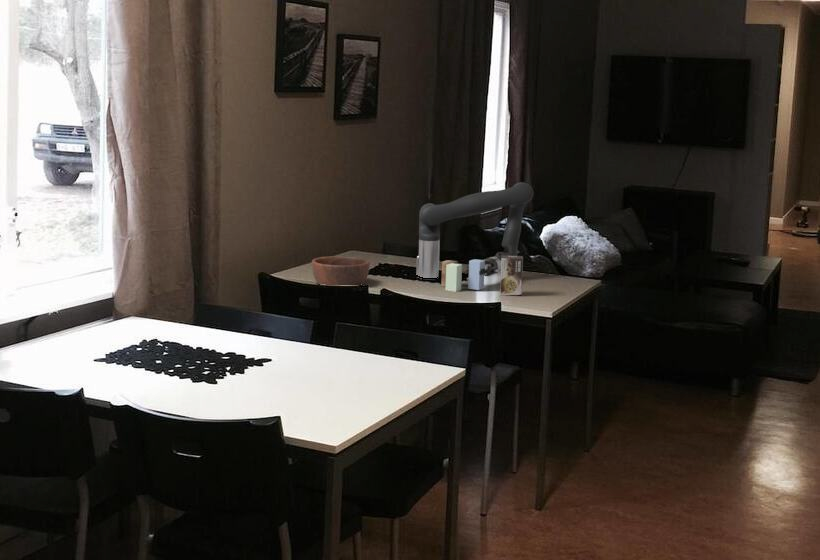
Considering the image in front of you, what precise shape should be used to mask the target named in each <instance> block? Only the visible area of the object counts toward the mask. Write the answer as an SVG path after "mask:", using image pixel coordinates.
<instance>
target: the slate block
mask: <svg viewBox="0 0 820 560" xmlns="http://www.w3.org/2000/svg"><path fill="white" fill-rule="evenodd" d="M468 265H469V274H468V282H467V283H468V284H467V285H468V286H467V289H468V290H469V289H470V290H477V291H480V290H483V289H484V288H485V276H484V274H483V275H479V270H481V269H484V268H485V260H484V259H475V258H474V259H471V260H469V261H468Z"/></svg>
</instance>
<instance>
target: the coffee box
mask: <svg viewBox="0 0 820 560" xmlns="http://www.w3.org/2000/svg"><path fill="white" fill-rule="evenodd" d="M523 263H524V256H523V255H517V256H502V258H501V271H500V292H499V295H500V294H523V266H524V265H523Z"/></svg>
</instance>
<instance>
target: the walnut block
mask: <svg viewBox="0 0 820 560" xmlns="http://www.w3.org/2000/svg"><path fill="white" fill-rule="evenodd" d="M458 262H459V261H458V260H449V259H448V260H447V259H446V260H444V261H441V281H440V282H441V284H440V285H441V288H446V265H447V264H451V263H454V264H459V263H458Z"/></svg>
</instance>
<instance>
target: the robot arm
mask: <svg viewBox="0 0 820 560" xmlns="http://www.w3.org/2000/svg"><path fill="white" fill-rule="evenodd" d="M533 197H534V189H533V187H532V186H531V185H530V184H528V183H526V182H524V181H523V182H517V183H515V184H514V185H513V186H511V187H508V188H504V189H500V190H499V189H498V190H488V191H481V192H476V193H471V194H468V195H465V196H462V197H460V198H458V199H455V200H453V201H451V202H447V203H441V204H434V203H431V202H430V203H425V204H423V205H422V206H421V208H420V209H419V212H418V213H419V215H418V216H419V217H418V255H417V256H416V270H415V271H416V272H415V273H416V275H418V276H420V277H423V278H437V277H438V278H439V275H440V274H439V269H440V268H439V267H440V244H441V243H440V239H441V237H440V236H441V234H440V233H441V232H440V223H443V222H444V223H445V222H447V221H449V220H453V219H458V218H465V217H466V218H467V217H470V216H475V215H480V214H484V213H487V212H491V211H493V210H497V209H499V208H502V207H507V206H509V211H508V217H507V221H506V224H505V228H504V232H503V233H504V234H503V238H502V242H501V245H502V247H503V248H505V249H508V251H509V253H507V252H504V251H498V252H497V253H496V254H495V255H494V256H490V257H487V258H484V259H483V260H485V268H484V269H481V270H479V275H483V274H484V277H490V276H493V275H495V274H499V272H500V273H501V258H502V256H518V246H519V242H520V236H521V232H522V221H523V215H524V210H525V207H526V204H527V203H530V201H531V200H532V199H533ZM466 273H467V274H468V275H469V264H468V265H467V266H466ZM416 275H415V276H416ZM438 278H437V279H438Z"/></svg>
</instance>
